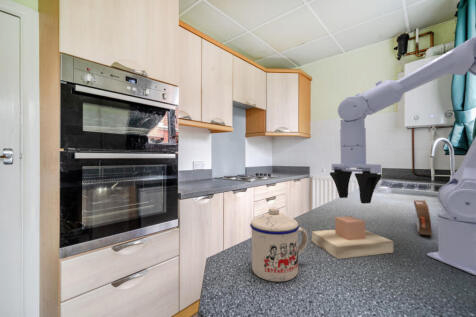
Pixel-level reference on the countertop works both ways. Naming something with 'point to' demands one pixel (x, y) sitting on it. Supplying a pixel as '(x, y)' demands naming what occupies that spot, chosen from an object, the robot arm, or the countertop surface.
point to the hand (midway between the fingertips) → (353, 200)
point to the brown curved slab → (423, 218)
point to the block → (350, 228)
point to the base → (352, 244)
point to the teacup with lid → (276, 246)
